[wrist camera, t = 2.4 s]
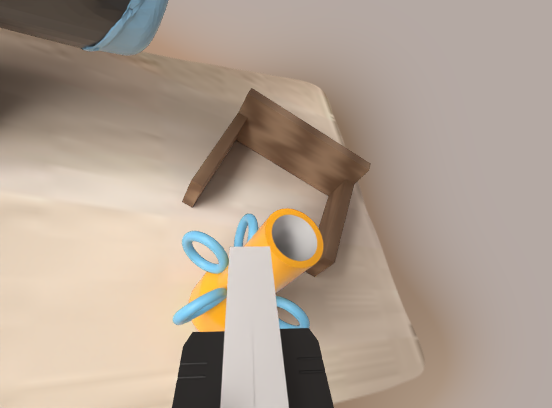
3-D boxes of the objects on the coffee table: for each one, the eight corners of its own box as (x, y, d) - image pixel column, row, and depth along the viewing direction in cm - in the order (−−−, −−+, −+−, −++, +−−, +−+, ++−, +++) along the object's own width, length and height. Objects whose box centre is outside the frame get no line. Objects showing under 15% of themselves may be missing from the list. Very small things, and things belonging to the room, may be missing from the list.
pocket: (181, 201, 37) (199, 161, 32) (231, 129, 46) (251, 88, 40) (314, 276, 39) (351, 250, 34) (338, 194, 48) (370, 163, 43)
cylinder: (169, 239, 34) (216, 139, 23) (268, 254, 38) (349, 175, 27) (151, 380, 28) (203, 336, 17) (273, 381, 32) (382, 346, 20)
